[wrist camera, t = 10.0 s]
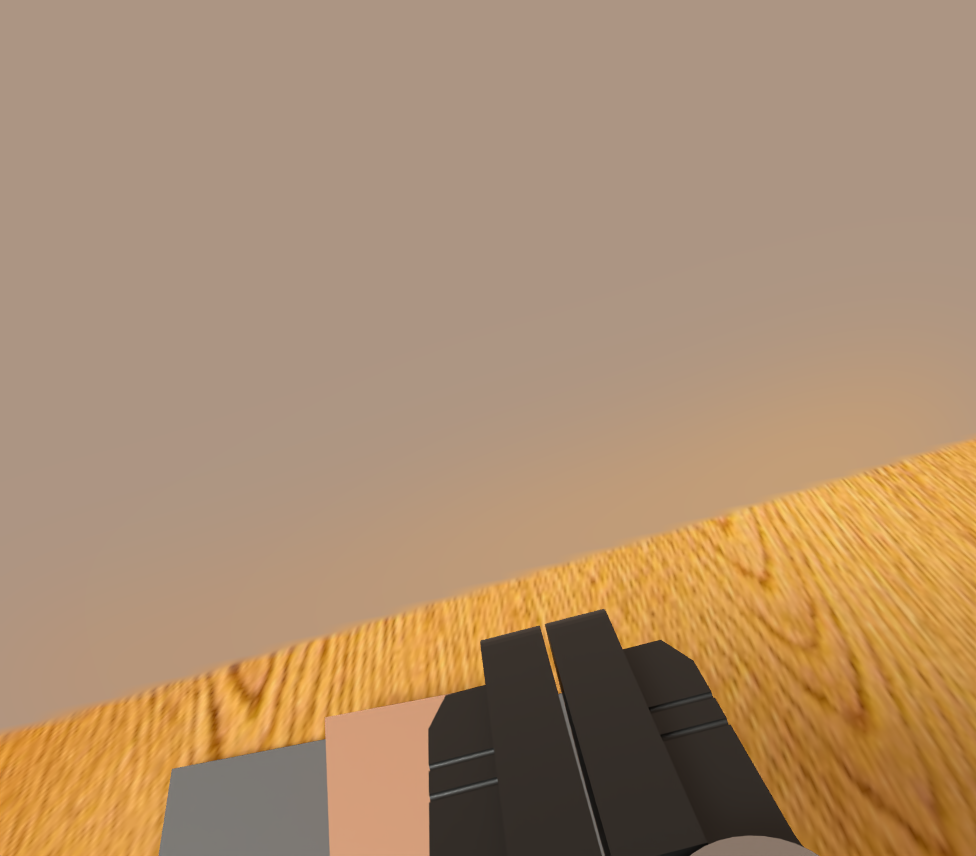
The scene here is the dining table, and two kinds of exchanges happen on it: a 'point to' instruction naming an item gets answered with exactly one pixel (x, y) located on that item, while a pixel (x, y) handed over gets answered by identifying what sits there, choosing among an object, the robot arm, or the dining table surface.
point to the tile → (380, 779)
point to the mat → (259, 804)
